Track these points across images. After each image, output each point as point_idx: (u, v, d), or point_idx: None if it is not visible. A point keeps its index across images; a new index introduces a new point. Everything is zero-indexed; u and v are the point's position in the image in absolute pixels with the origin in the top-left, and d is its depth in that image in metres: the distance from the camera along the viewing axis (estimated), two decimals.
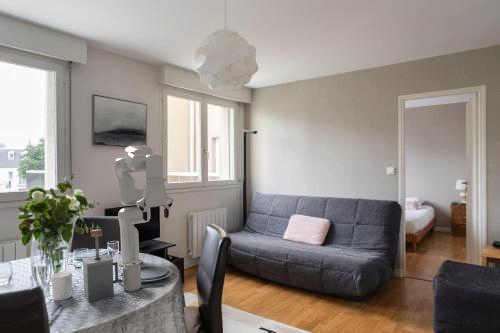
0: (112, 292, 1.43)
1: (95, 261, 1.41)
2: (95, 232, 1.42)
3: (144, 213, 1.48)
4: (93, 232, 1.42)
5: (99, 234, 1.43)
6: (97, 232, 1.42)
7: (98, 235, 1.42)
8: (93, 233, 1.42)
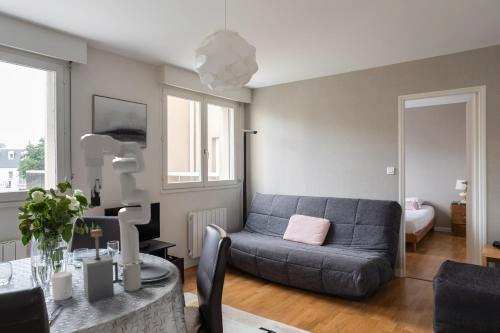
0: (112, 292, 1.43)
1: (95, 261, 1.41)
2: (95, 232, 1.42)
3: (98, 198, 1.42)
4: (93, 232, 1.42)
5: (99, 234, 1.43)
6: (97, 232, 1.42)
7: (98, 235, 1.42)
8: (93, 233, 1.42)
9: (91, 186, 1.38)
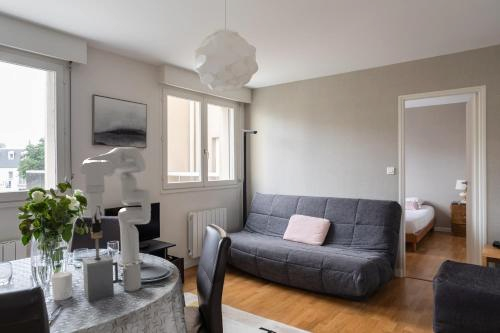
0: (112, 292, 1.43)
1: (95, 261, 1.41)
2: (95, 233, 1.42)
3: (98, 224, 1.43)
4: (93, 234, 1.42)
5: (99, 236, 1.43)
6: (97, 234, 1.42)
7: (98, 237, 1.42)
8: (93, 235, 1.42)
9: (92, 213, 1.38)
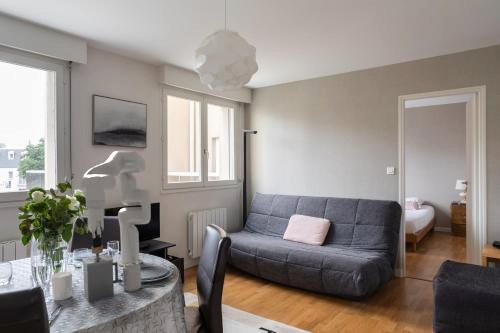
0: (112, 292, 1.43)
1: (95, 261, 1.41)
2: (96, 248, 1.42)
3: (99, 239, 1.44)
4: (94, 248, 1.42)
5: (100, 250, 1.43)
6: (98, 248, 1.42)
7: (99, 251, 1.43)
8: (94, 249, 1.42)
9: (92, 229, 1.39)
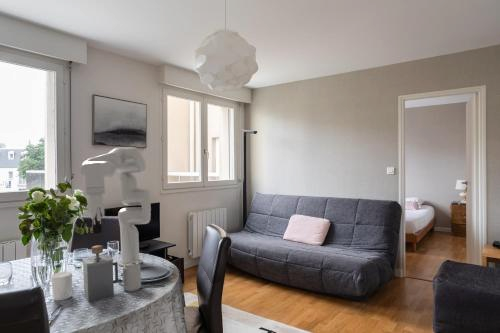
0: (112, 292, 1.43)
1: (95, 261, 1.41)
2: (96, 248, 1.42)
3: (99, 225, 1.44)
4: (94, 249, 1.42)
5: (100, 250, 1.43)
6: (98, 249, 1.42)
7: (99, 251, 1.43)
8: (94, 250, 1.42)
9: (92, 215, 1.39)
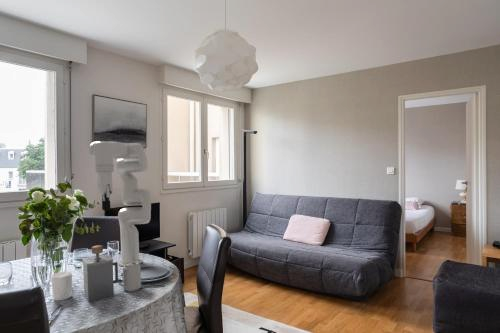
0: (112, 292, 1.43)
1: (95, 261, 1.41)
2: (96, 248, 1.42)
3: (108, 202, 1.50)
4: (94, 249, 1.42)
5: (100, 250, 1.43)
6: (98, 249, 1.42)
7: (99, 251, 1.43)
8: (94, 250, 1.42)
9: (102, 191, 1.45)
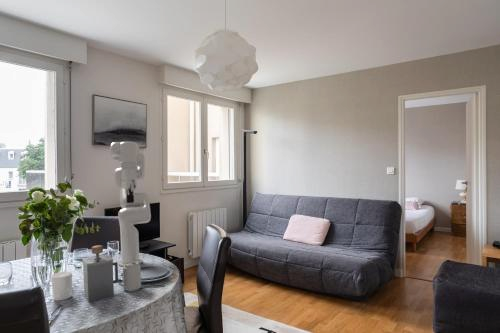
0: (112, 292, 1.43)
1: (95, 261, 1.41)
2: (96, 248, 1.42)
3: (132, 196, 1.67)
4: (94, 249, 1.42)
5: (100, 250, 1.43)
6: (98, 249, 1.42)
7: (99, 251, 1.43)
8: (94, 250, 1.42)
9: (127, 186, 1.62)
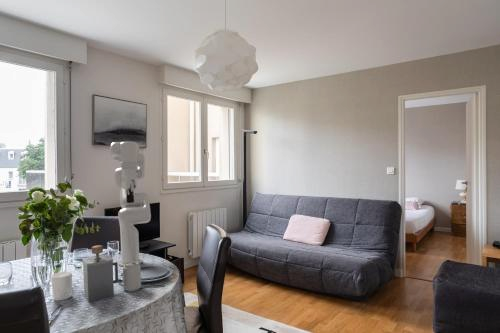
0: (112, 292, 1.43)
1: (95, 261, 1.41)
2: (96, 248, 1.42)
3: (132, 196, 1.67)
4: (94, 249, 1.42)
5: (100, 250, 1.43)
6: (98, 249, 1.42)
7: (99, 251, 1.43)
8: (94, 250, 1.42)
9: (127, 186, 1.62)
